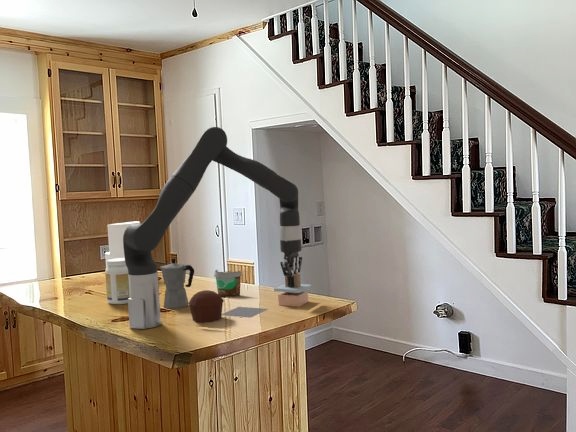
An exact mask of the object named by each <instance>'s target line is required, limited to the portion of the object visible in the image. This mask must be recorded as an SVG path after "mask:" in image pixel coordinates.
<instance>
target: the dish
mask: <svg viewBox="0 0 576 432" xmlns="http://www.w3.org/2000/svg"><path fill="white" fill-rule="evenodd" d="M277 296H278V306H285V307H297V308H298V307H301V306H303V305H305V304H307V303H308V302H309V292H308V291H307V290H305V291H303V292H301V293H292V292H280V293H279V294H278V295H277Z"/></svg>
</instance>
